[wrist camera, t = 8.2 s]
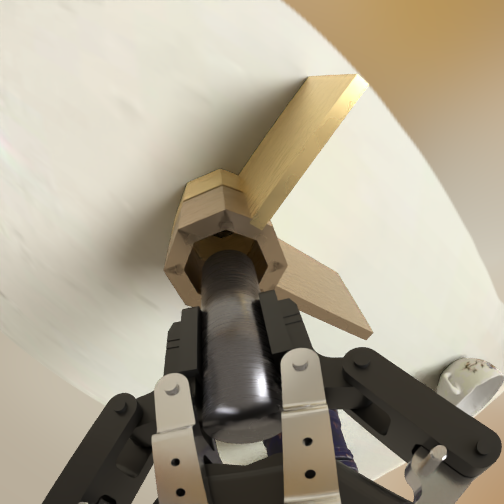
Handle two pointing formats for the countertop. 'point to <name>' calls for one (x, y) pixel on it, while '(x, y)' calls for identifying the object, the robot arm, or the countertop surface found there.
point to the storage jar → (340, 447)
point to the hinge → (269, 210)
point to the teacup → (469, 384)
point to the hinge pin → (237, 354)
